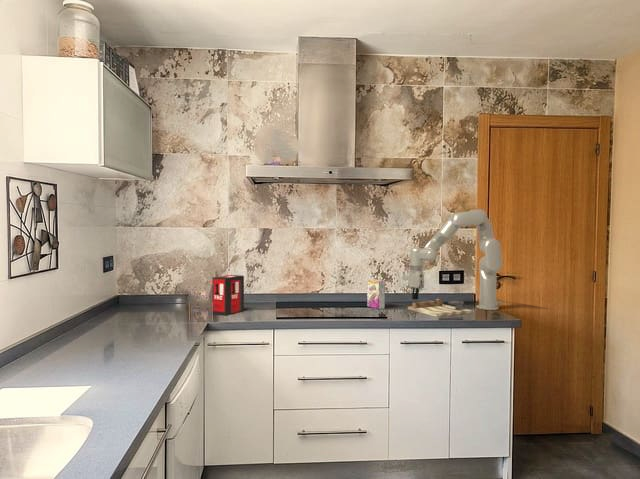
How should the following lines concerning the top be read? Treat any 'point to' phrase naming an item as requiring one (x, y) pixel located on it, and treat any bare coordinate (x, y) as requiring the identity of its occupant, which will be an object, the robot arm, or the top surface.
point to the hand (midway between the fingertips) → (415, 299)
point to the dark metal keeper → (457, 304)
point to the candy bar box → (376, 294)
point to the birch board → (440, 310)
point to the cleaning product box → (228, 294)
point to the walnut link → (427, 303)
